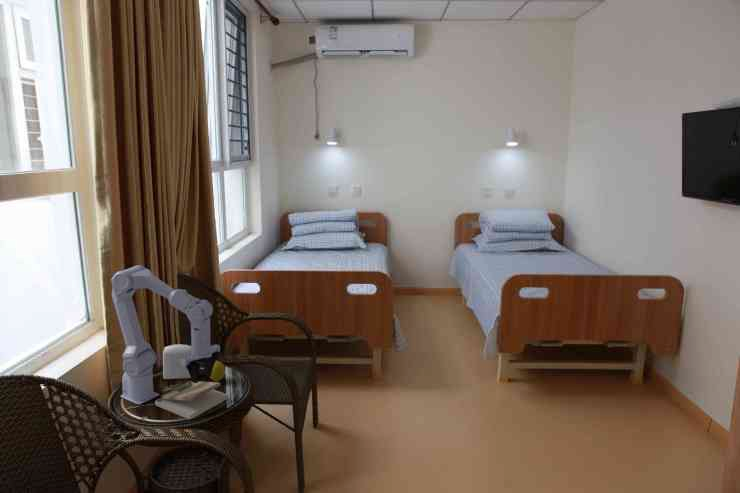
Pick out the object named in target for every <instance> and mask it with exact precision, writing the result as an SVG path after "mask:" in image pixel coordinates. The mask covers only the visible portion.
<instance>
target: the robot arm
mask: <svg viewBox="0 0 740 493" xmlns="http://www.w3.org/2000/svg"><path fill="white" fill-rule="evenodd" d="M110 282H111V285H112V289H111V297H112V298H111V299H112V301H113V305H114V308H115V311H116V312H115V313H116V315H117V319H118V322H119V326H120V329H121V333H122V336H123V340H124V343H125V346H126V347H125V350H124V352H123V354H122V360H123V363H122V369H123V371H124V373H123V375H122V378H121V383H122V384H121V385H122V387H121V388H122V394H121V395H120V398H121V397H122V399H124V400H126V401H129V402H131V403H133V404H136V405H138V406H139V405H141V404H143V403H144V404H145V403H146V402H148V401H150V400H152V399H154V398H156V397H159V396H160V393H158V392H155V391H154V383H153V378H154V377H153V376H154V375H153V369H154V365H155V364H156V362H157V354H156V352H155V351H154V350H153V348H152V345H151V343H148V342H146V341H145V339H144V335H143V331H142V328H141V324H140V321H139V318H138V314H137V311H136V310H137V309H136V307H135V302H134V301H133V300H134V299H133V295H134V294H135V292H136V291H137V290H141V289H148V290H149V291H152V292H154V293H156V294H158V295H160V296H162V297H164V298H165V299H167V300H168V303H169V305H170V306H172V307H173V308H175V309H177V310H178V311H180V312H182V313H183V314H185V315H186V317H187V319H188V321H189V323H190V337H191V338H190V340H191V344H190V346H191V347H192V352H191V353H189V354H188V355H187V356H185V357H184V358H182V359H181V365H183V366H186V368H187V370H188V372H189V374H190V377H191V378H190V381H192V382H194V383H198V382H199V377H200V376H199V374H200V370H201V369H200V368H201V366H202V364H201V363H198V362H197V361H198V360H201V359H202V362H203V372H204V376H205V377H209V378H210V376H211V374H212V370H213V367H214V364H215V362H216V361H218V359H219V355H218V354H217V353H218V352H221V345H219V344H213V345H211V316H212V314H213V313H214V307H213V304H212V303H211V302H210V301H208V300H207V299H200V298H198V297H195V296H193V295H191V294H190V293H188V291H187V290H186V289H181V288H179V289H175V288H172V287H171V286H170V285H169V284H167V283H165V282H164V281H162V280H161V279H159V278H158V277H157V276H155V274H153V273H152V272H151V270H150V269H149V268H146V267H144V266H143V265H141V264H140V265H139V264H137V265H134V266H132V267H129V268H127V269H123V270H120V271H116V273H114V274H113V276H112V277H111V279H110Z"/></svg>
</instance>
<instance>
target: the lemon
mask: <svg viewBox="0 0 740 493" xmlns="http://www.w3.org/2000/svg"><path fill="white" fill-rule="evenodd" d="M225 373H226V369H225V366H224V364H223V362H222V361H218V360H216V362H215V364H214V367H213V370H212V374H211V376H210V377H209V378H210V379H211V380H212V381H213V382H220V381H221V380H223V378H224V377H225Z"/></svg>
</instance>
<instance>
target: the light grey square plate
mask: <svg viewBox="0 0 740 493" xmlns="http://www.w3.org/2000/svg"><path fill="white" fill-rule="evenodd" d="M228 398H229V395H228V394H227V393H224V392H222V391H219V390H216V389H213V390H211V391H209V392H207V393H205V394H203V395H201V396H199V397H197V398H195V399H193V400H191V401H187V400H172V399H161V397H159V398H157V399H156V400H154V403H155V404H154V406H156V407H159V408H161V409H164V410H165V411H168V412H171V413H173V414H175V415H177V416H180V417H183V418H184V419H187V420H190V419H191V420H192V419H195V418H196V417H197V416H198V417H199V415H201V414H203V413H205V412H206V411H209V410H210V409H212V408H214V407H216V406H218V405H220V404H221V403H222V402H224V401H226V400H228Z"/></svg>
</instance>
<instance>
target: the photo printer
mask: <svg viewBox="0 0 740 493" xmlns="http://www.w3.org/2000/svg"><path fill="white" fill-rule="evenodd" d="M191 352H192V347H191V345H188V344H182V343H181V344H171V345H167V346H164V348H163V351H162V367H163V368H162V374H163V375H162V376H163V379H164V380H175V379H177V380H179V379H191V377H190V374H189V372H188V370H187V368H186V366H183V365H181V359H182V358H184V357H185V356H187V355H188V354H189V353H191Z"/></svg>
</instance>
